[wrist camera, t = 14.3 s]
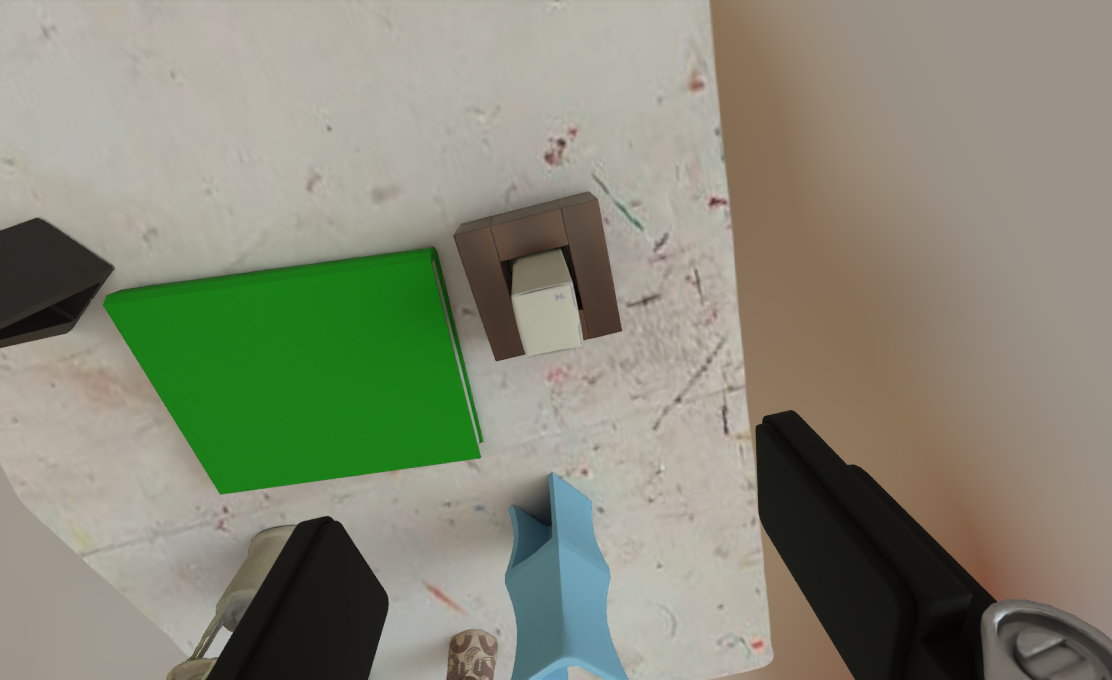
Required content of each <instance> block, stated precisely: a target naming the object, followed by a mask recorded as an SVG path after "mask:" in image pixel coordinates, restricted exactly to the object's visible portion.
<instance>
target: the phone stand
mask: <svg viewBox="0 0 1112 680" xmlns="http://www.w3.org/2000/svg"><path fill="white" fill-rule="evenodd" d="M113 269H114V268H113V267H111V266H110V265H108V264H107V263H105V262H104V261H102V260H101V259H99V258H98V257H96V256H95V255H93V254H92V253H90V252H89V251H87V250H86V249H84V248H83V247H81V246H80V245H78V244H77V243H75V242H74V241H72V240H71V239H70V238H68V237H67V236H65V235H64V234H62V233H61V232H59V231H58V230H56V229H55V228H53V227H52V226H50V225H49V224H47V223H46V222H44V221H43V220H41V219H40V218H35V219H32V220H29V221H26V222H24V223H21V224H18V225H15V226H12V227H10V228H7V229H4V230H1V231H0V348H3V347H7V346H12V345H16V344H21V343H25V342H30V341H34V340H39V339H43V338H48V337H52V336H57V335H61V334H66V333H68V332H69V331H71V330H72V328H73V327H74V325H75V324H76V322H77V321H78V319H79V318H80V317H81V315H82V314H83V312H84V311H85V309H86V308H87V306H88V305H89V304H90V302H91V301H90V300H91V299H93V298H94V296H95V295H96V293H97V292H98V291H99V289H100V288H101V286H102V285H103V283H104V282H105V280H106V279H107V278H108V276H109V275H110V273H111V272H112V270H113Z"/></svg>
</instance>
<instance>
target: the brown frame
mask: <svg viewBox="0 0 1112 680" xmlns="http://www.w3.org/2000/svg"><path fill="white" fill-rule="evenodd" d="M454 239H455V242H456V245H457V248H458V251H459V254H460V257H461V260H462V263H463V266H464V269H465V272H466V275H467V277H468V280H469V283H470V286H471V289H472V292H473V295H474V298H475V301H476V304H477V307H478V310H479V313H480V316H481V319H482V322H483V325H484V328H485V331H486V334H487V337H488V340H489V342H490V345H491V348H492V351H493V354H494V357H495V360H496V361H500V360H504V359H508V358H512V357H516V356H521V355H525V351H524V348H523V344H522V341H521V337H520V333H519V330H518V326H517V322H516V318H515V313H514V309H513V304H512V299H511V297H512V278H511V274H510V271H509V267H508V264H507V261H506V260H510V259H514V258H518V257H522V256H526V255H530V254H534V253H538V252H542V251H546V250H550V249H554V248H558V247H562V246H566V245H567V249H568V254H569V258H570V263H571V267H572V272H573V276H574V280H575V285H576V289H577V291H575V296H576V301H577V307H578V312H579V317H580V323H581V329H582V335H583V340H587V339H589V338H590V339H592V338H596V337H600V336H604V335H608V334H612V333H617V332H621V331H622V328H621V323H620V317H619V312H618V306H617V301H616V295H615V290H614V285H613V279H612V274H611V268H610V263H609V257H608V252H607V246H606V241H605V235H604V230H603V225H602V219H601V214H600V208H599V203H598V199H597V198H596V197H595V196H594V195H592V194H591V193H590V192H585V193H581V194H577V195H573V196H569V197H565V198H562V199H558V200H557V201H556V200H554V201H550V202H546V203H542V204H538V205H534V206H530V207H526V208H522V209H518V210H514V211H511V212H507V213H503V214H499V215H495V216H494V217H493V216H491V217H487V218H483V219H479V220H475V221H471V222H467V223H463V224H461V226H460V227H459V229H458V230H457V231H456V233H455V234H454Z"/></svg>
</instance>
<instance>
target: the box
mask: <svg viewBox="0 0 1112 680" xmlns="http://www.w3.org/2000/svg"><path fill="white" fill-rule="evenodd" d="M511 299H512V304H513V309H514V313H515V318H516V322H517V326H518V330H519V333H520V337H521V341H522V344H523V348H524V351H525V354H526V356H527V357H534V356H539V355H545V354H550V353H556V352H562V351H567V350H571V349H576V348H581V347H583V343H584V342H583V335H582V329H581V323H580V317H579V312H578V307H577V301H576V296H575V292H574V287H573V283H572V279H571V276H570V274H569V271H568V268H567V265H566V262H565V259H564V256H563V254H562V251H561V248H560V247H558V248H554V249H550V250H546V251H542V252H538V253H534V254H530V255H526V256H522V257H518V258H514V259H513V277H512V297H511Z"/></svg>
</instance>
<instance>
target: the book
mask: <svg viewBox="0 0 1112 680" xmlns="http://www.w3.org/2000/svg"><path fill="white" fill-rule="evenodd" d="M103 306H104V307H105V309H106V311H107V312H108V314H109V315H110V317H111V319H112V320H113V322H114V324H115V325H116V327H117V328H118V330H119V332H120V333H121V335H122V336H123V338H124V340H125V341H126V343H127V345H128V346H129V348H130V349H131V351H132V353H133V354H134V356H135V357H136V359H137V361H138V362H139V364H140V366H141V367H142V369H143V370H144V372H145V374H146V375H147V377H148V378H149V380H150V382H151V383H152V385H153V387H154V388H155V390H156V391H157V393H158V395H159V396H160V398H161V400H162V401H163V403H164V404H165V406H166V408H167V409H168V411H169V412H170V414H171V416H172V417H173V419H174V421H175V422H176V424H177V425H178V427H179V429H180V430H181V432H182V433H183V435H184V437H185V438H186V440H187V442H188V443H189V445H190V446H191V448H192V450H193V451H194V453H195V454H196V456H197V458H198V459H199V461H200V463H201V464H202V466H203V467H204V469H205V471H206V472H207V474H208V475H209V477H210V479H211V480H212V482H213V484H214V485H215V487H216V488H217V490H218V492H219V493H220V495H221V494H228V493H235V492H242V491H250V490H257V489H264V488H271V487H278V486H285V485H293V484H300V483H307V482H314V481H321V480H328V479H335V478H343V477H350V476H357V475H364V474H371V473H378V472H386V471H393V470H400V469H407V468H414V467H421V466H428V465H436V464H443V463H450V462H457V461H464V460H471V459H479V458H481V455H480V451H479V447H478V446H479V443H481V442H483V438H482V434H481V430H480V426H479V422H478V418H477V414H476V410H475V406H474V402H473V397H472V393H471V389H470V385H469V381H468V377H467V373H466V369H465V365H464V361H463V356H462V352H461V348H460V344H459V340H458V336H457V332H456V328H455V324H454V320H453V315H452V311H451V307H450V303H449V299H448V295H447V291H446V287H445V283H444V279H443V275H442V270H441V266H440V262H439V258H438V254H437V251H436V250H435V248H434V247H433V248H426V249H418V250H411V251H404V252H396V253H389V254H382V255H374V256H367V257H360V258H352V259H345V260H338V261H330V262H323V263H315V264H308V265H301V266H293V267H286V268H279V269H271V270H264V271H257V272H249V273H242V274H235V275H227V276H220V277H213V278H205V279H198V280H191V281H183V282H176V283H169V284H161V285H154V286H147V287H139V288H132V289H125V290H120V291H117V292H115V293H112V294H110V295H107V296H106V298H105V301H104V303H103Z"/></svg>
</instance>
